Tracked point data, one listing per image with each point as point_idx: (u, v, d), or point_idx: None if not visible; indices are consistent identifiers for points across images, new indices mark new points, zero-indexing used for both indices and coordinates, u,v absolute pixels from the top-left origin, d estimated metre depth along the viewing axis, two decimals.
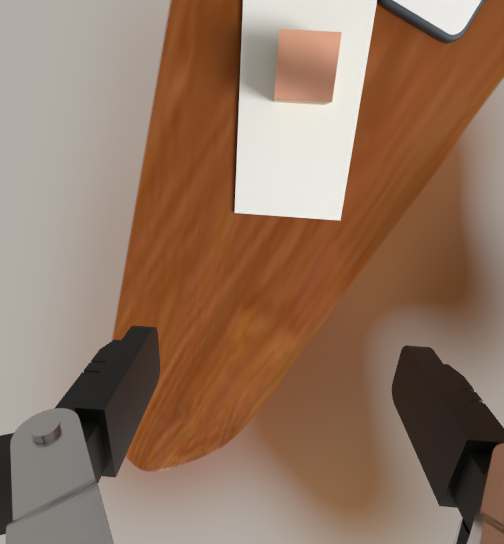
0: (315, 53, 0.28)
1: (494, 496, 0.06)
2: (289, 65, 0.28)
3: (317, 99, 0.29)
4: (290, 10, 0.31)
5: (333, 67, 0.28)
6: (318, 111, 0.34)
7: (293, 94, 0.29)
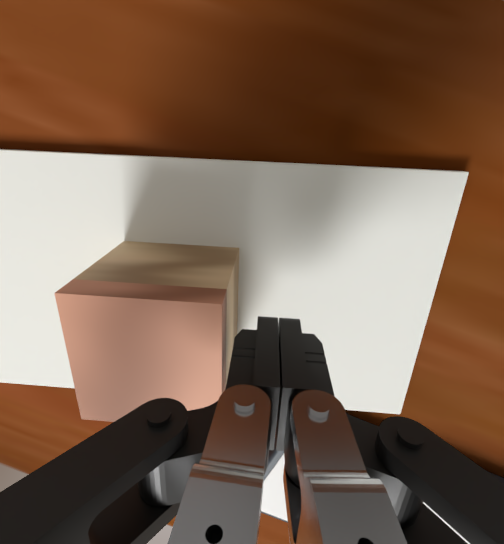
0: (174, 384, 0.11)
1: (306, 450, 0.07)
2: (140, 329, 0.10)
3: (78, 391, 0.11)
4: (297, 269, 0.15)
5: None
6: None
7: (75, 339, 0.11)
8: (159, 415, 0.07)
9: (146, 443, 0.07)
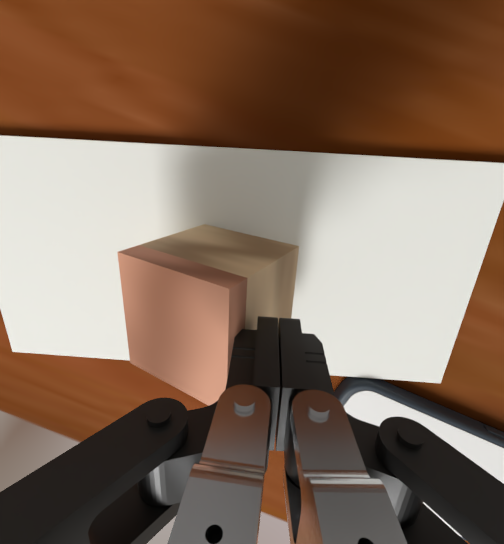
0: (191, 355, 0.12)
1: (307, 450, 0.07)
2: (169, 296, 0.12)
3: (129, 338, 0.14)
4: (358, 250, 0.16)
5: (174, 381, 0.13)
6: None
7: (128, 293, 0.13)
8: (159, 416, 0.07)
9: (146, 443, 0.07)
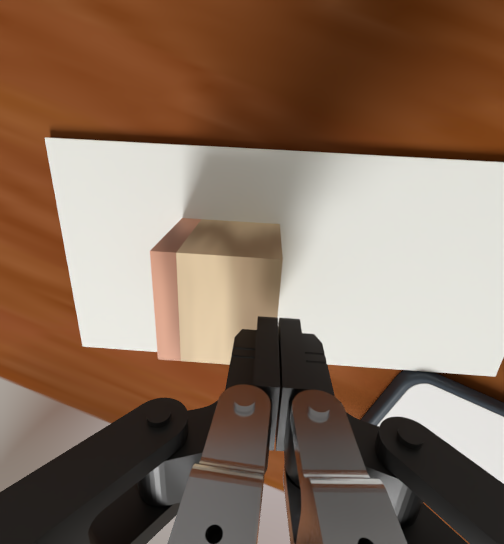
0: None
1: (306, 450, 0.07)
2: None
3: None
4: (426, 249, 0.17)
5: None
6: None
7: None
8: (159, 415, 0.07)
9: (146, 443, 0.07)
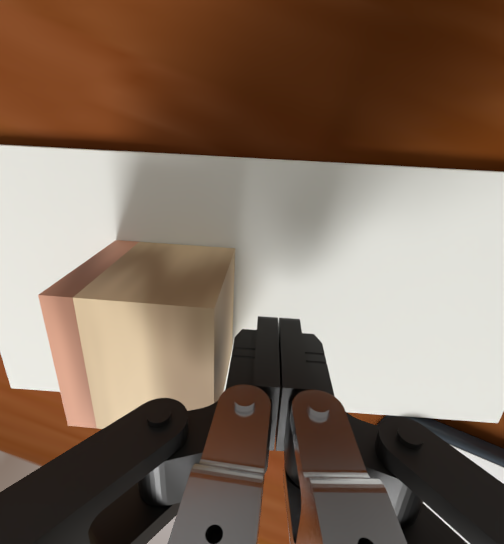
0: None
1: (306, 450, 0.07)
2: None
3: None
4: (414, 277, 0.14)
5: None
6: None
7: None
8: (158, 415, 0.07)
9: (146, 443, 0.07)
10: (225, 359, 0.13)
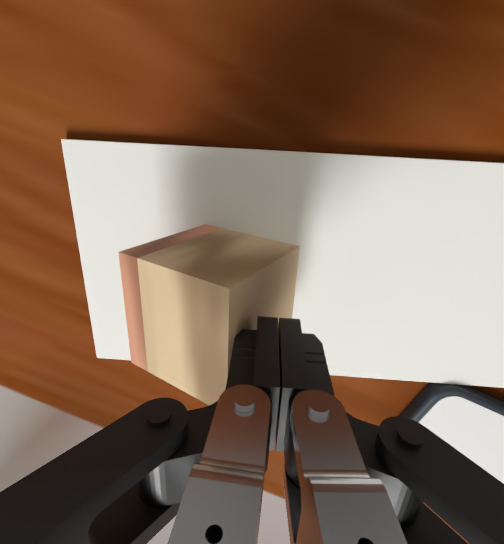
0: None
1: (306, 450, 0.07)
2: None
3: None
4: (464, 257, 0.16)
5: None
6: None
7: None
8: (159, 415, 0.07)
9: (146, 443, 0.07)
10: None
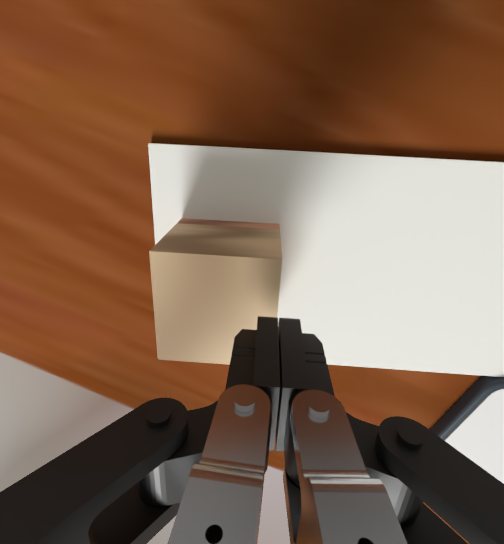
0: None
1: (306, 450, 0.07)
2: None
3: None
4: None
5: None
6: (352, 307, 0.19)
7: None
8: (159, 415, 0.07)
9: (146, 443, 0.07)
10: (218, 340, 0.14)
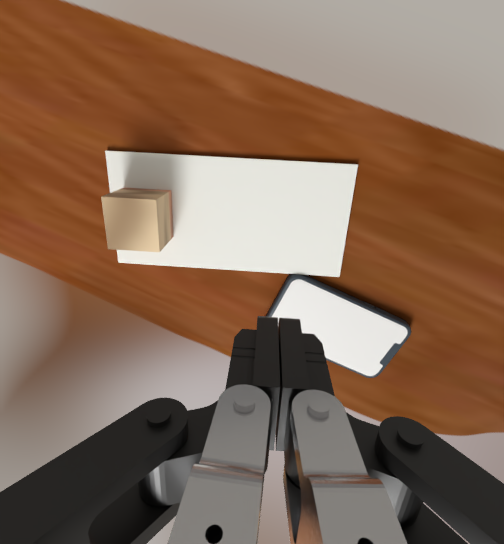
0: None
1: (306, 450, 0.07)
2: None
3: (172, 225, 0.36)
4: (292, 205, 0.35)
5: None
6: (214, 234, 0.36)
7: None
8: (159, 415, 0.07)
9: (146, 443, 0.07)
10: (134, 238, 0.32)
